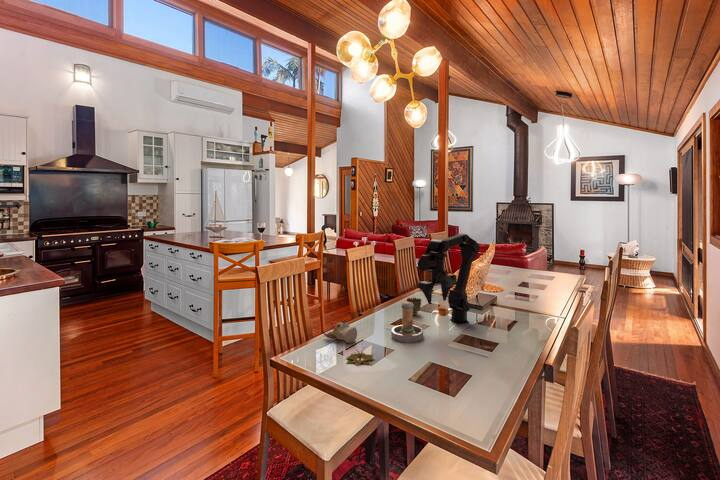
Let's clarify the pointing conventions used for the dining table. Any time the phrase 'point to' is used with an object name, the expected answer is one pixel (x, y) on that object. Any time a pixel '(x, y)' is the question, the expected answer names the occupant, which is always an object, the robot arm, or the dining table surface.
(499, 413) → the dining table surface
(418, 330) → the round tray
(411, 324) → the disc
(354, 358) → the lily flower
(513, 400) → the dining table surface
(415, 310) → the cup
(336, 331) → the ceramic sculpture
